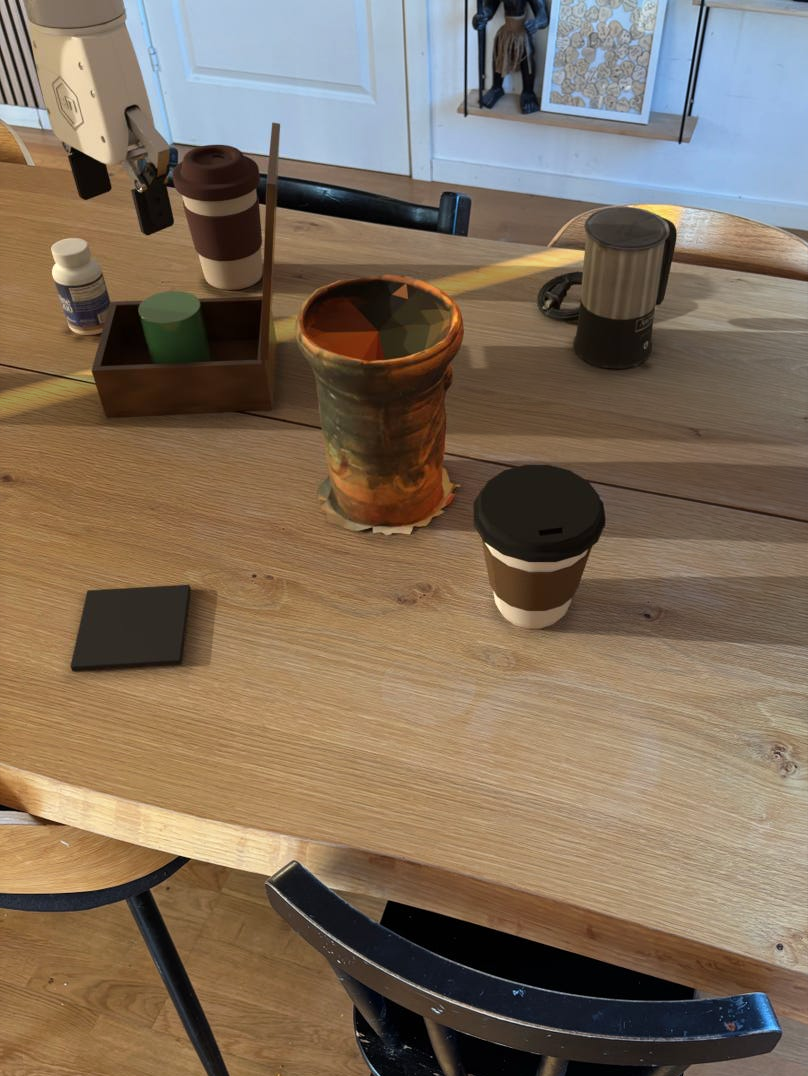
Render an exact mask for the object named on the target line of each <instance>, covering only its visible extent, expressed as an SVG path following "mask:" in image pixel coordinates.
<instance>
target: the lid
mask: <svg viewBox="0 0 808 1076" xmlns="http://www.w3.org/2000/svg"><path fill="white" fill-rule="evenodd" d="M280 138H281V123H278V122H272V123H271V131H270V142H269V143H270V144H269V153H268V163H267V175H266V185H265V186H266V187H265V189H266V190H265V214H264V215H265V216H264V220H265V221H264V240H263V241H264V243H263V244H264V245H263V273H262V295H261V296H262V322H261V350H260V359H264V360H268V353H269V339H270V325H271V311H272V312H273V309H272V308H273V294H274V277H275V275H274V274H275V254H276V253H275V252H276V251H275V250H276V229H277V209H278V208H277V206H278V187H279V185H278V183H279V162H280V161H279V160H280V140H281V139H280Z"/></svg>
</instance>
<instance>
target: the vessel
mask: <svg viewBox="0 0 808 1076" xmlns="http://www.w3.org/2000/svg"><path fill="white" fill-rule="evenodd" d="M462 315H463V314H462V311H461V309H460V307H459V305H458V304H457V303H456V302H455V300H453V298H452V297H450V296H449V295H448V293H446V292H444V290H442V289H440V288H438V287H437V286H434V285H432V284H429V283H428V282H426V281H423V280H421V279H420V278H415V277H414V276H409V275H393V274H384V275H380V276H374V277H360V278H349V279H339V280H337V281H334V282H332V283H329V284H326V285H323V286H320V287H319V288H318V287H317V288H316V289H315V290H314V291H313V292H312V293H311V294H310V295H309V296H308V297H307V298H306V299H305V301H303V303H301V306H300V308H299V311H298V314H297V315H296V318H295V322H294V335H295V336H294V337H295V339H296V344H297V346H298V349H299V351H300V352H301V354H302V355H303V356H304V358H305V359H306V361H307V362H308V363H307V364H309V366H310V367H311V369H312V372H313V375H314V378H315V384H316V385H315V386H316V395H317V400H318V414H319V420H320V421H319V422H320V428H321V435H322V443H323V448H324V453H325V456H326V461H327V467H328V476H327V477H326V478H325V479H324V480H322V482H321V483H320V484H319V486H318V488H317V489H316V492H317V495H318V496H317V500H318V501H324V503H323V504H322V505H321V506H320V510H322V511H324V512H325V517H326V522H327V523H329V524H332V525H336V526H339V527H341V528H343V529H344V528H345V529H346V530H351V531H356V532H359V531H363V530H368V529H370V528H372V533H373V534H376V533H382V534H384V535H385V536H389V535H392V534H402V535H403V534H405V535H411V533H412V532H413V528H414V527H427V526H428V525H429V524H430V522H431V521H432V519H433V518H434V517H438V516H440V515H442V514H443V513H445V511H444V510H442V509H443V508H445V507H447V506H448V505H450V504H451V503H452V501H453V500H454V497H455V496H456V494H454V493H453V491H454V489H456V488H457V487H461V484H454V483H452V482H450V477H449V473H448V471H447V469H446V468H444V467H443V460H444V458H445V453H446V436H447V435H446V434H447V412H446V403H445V401H446V394H447V391H448V389H449V388H450V387H451V385H452V383H453V380H454V375H453V369H452V368H453V367H452V364H451V362H452V361H453V360H454V359H455V358H456V356H457V355H458V354H459V351H460V350H461V346H462V343H463V340H464V335H465V334H464V333H465V327H464V320H463V316H462Z"/></svg>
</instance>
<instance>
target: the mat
mask: <svg viewBox="0 0 808 1076" xmlns="http://www.w3.org/2000/svg"><path fill="white" fill-rule="evenodd" d="M190 597H191V585H190V584H176V585H160V586H159V585H157V586H141V587H123V588H108V589H107V588H106V589H87V590H86V595H85V598H84V604H83V608H82V612H81V617H80V621H79V627H78V631H77V634H76V640H75V645H74V649H73V652H72V653H73V654H72V657H71V662H70V670H71V671H72V672H80V671H82V672H83V671H96V670H112V669H113V670H114V669H115V670H116V669H128V668H129V669H130V668H145V667H161V666H162V667H163V666H176V665H182V661H183V654H184V652H183V651H184V645H185V637H186V629H187V622H188V613H189V606H190V599H191V598H190Z"/></svg>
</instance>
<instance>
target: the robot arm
mask: <svg viewBox="0 0 808 1076" xmlns="http://www.w3.org/2000/svg"><path fill="white" fill-rule="evenodd" d="M22 2H23V4H24V5H23V6H24V9H25V12H26V16H27V19H28V20H27V21H28V29H29V36H30V42H31V48H32V49H31V50H32V54H33V59H34V64H35V68H36V74H37V78H38V81H39V86H40V90H41V94H42V97H43V102H44V106H45V110H46V114H47V118H48V120H49V125H50V128H51V131H52V132H53V134H54V136H56V137H57V138H58V139H59V140H60V141H61V146H62V148H63V150H64V152H65V153H66V154H67V158H68V162H69V165H70V169H71V173H72V176H73V179H74V183H75V187H76V190H77V193H78V197H79V198H80V199H82V200H84V201H88V200H91V199H93V198H96V197H98V196H99V197H100V196H101V195H103V194H106V193H109V192H110V191H111V190H112V188H113V187H112V182H111V178H110V175H109V170H108V167H107V166H109V167H115V166H118V165H119V163H120V164H121V165H122V168H123V169H124V170H125V173H126V175H127V176H128V178H129V179H130V181H131V183H132V184H133V187H134V188H132V189H131V190H130V193H131V196H132V201H133V204H134V208H135V212H136V213H135V214H136V217H137V222H138V225H139V230H140V232H141V233H142V234H143V235H145V236H151V235H153V234H155V233H157V232H158V233H159V232H160V231H163V230H165V229H167V228H170V227H173V225H174V224H175V218H174V213H173V209H172V205H171V200H170V196H169V190H168V186H167V183H169V174H170V172H171V166H170V156H171V146H170V144H169V143H168V141H167V140H166V139H165V138H164V137H163V136H162V134H161V133H160V132H159V131H158V130H157V128H156V125H155V121H154V116H153V112H152V107H151V103H150V99H149V96H148V91H147V88H146V84H145V80H144V76H143V73H142V70H141V66H140V63H139V60H138V56H137V54H136V50H135V47H134V44H133V41H132V38H131V35H130V31H129V30H128V27H127V24H126V23H125V22H126V20H127V19H128V17H127V10H126V8H125V2H124V0H22ZM130 146H133V147H135V148H133V149H130V150H128V149H129V147H130ZM141 159H144V160H145V162H146V163H145V164H144V166H143V169H142V171H141V172H140V170H139V168H138V166H137V165H136V163H135V161H139V160H141Z"/></svg>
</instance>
